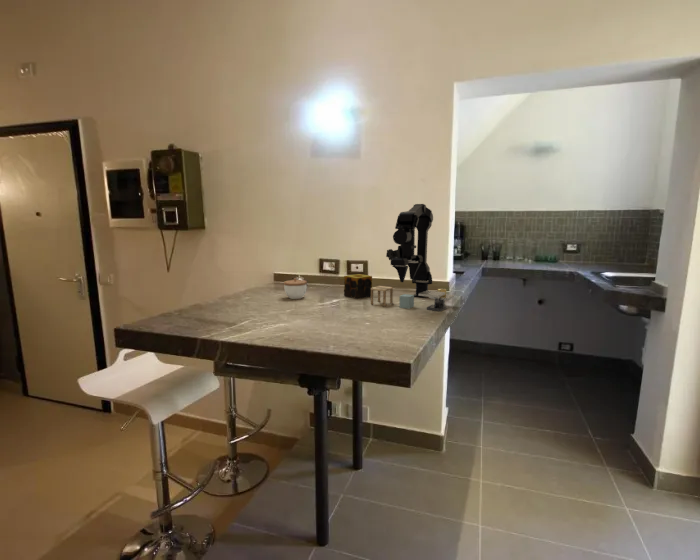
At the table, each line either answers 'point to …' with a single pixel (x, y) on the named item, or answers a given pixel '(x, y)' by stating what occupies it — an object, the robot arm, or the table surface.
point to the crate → (384, 289)
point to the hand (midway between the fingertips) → (406, 280)
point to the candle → (357, 286)
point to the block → (406, 301)
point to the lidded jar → (295, 288)
